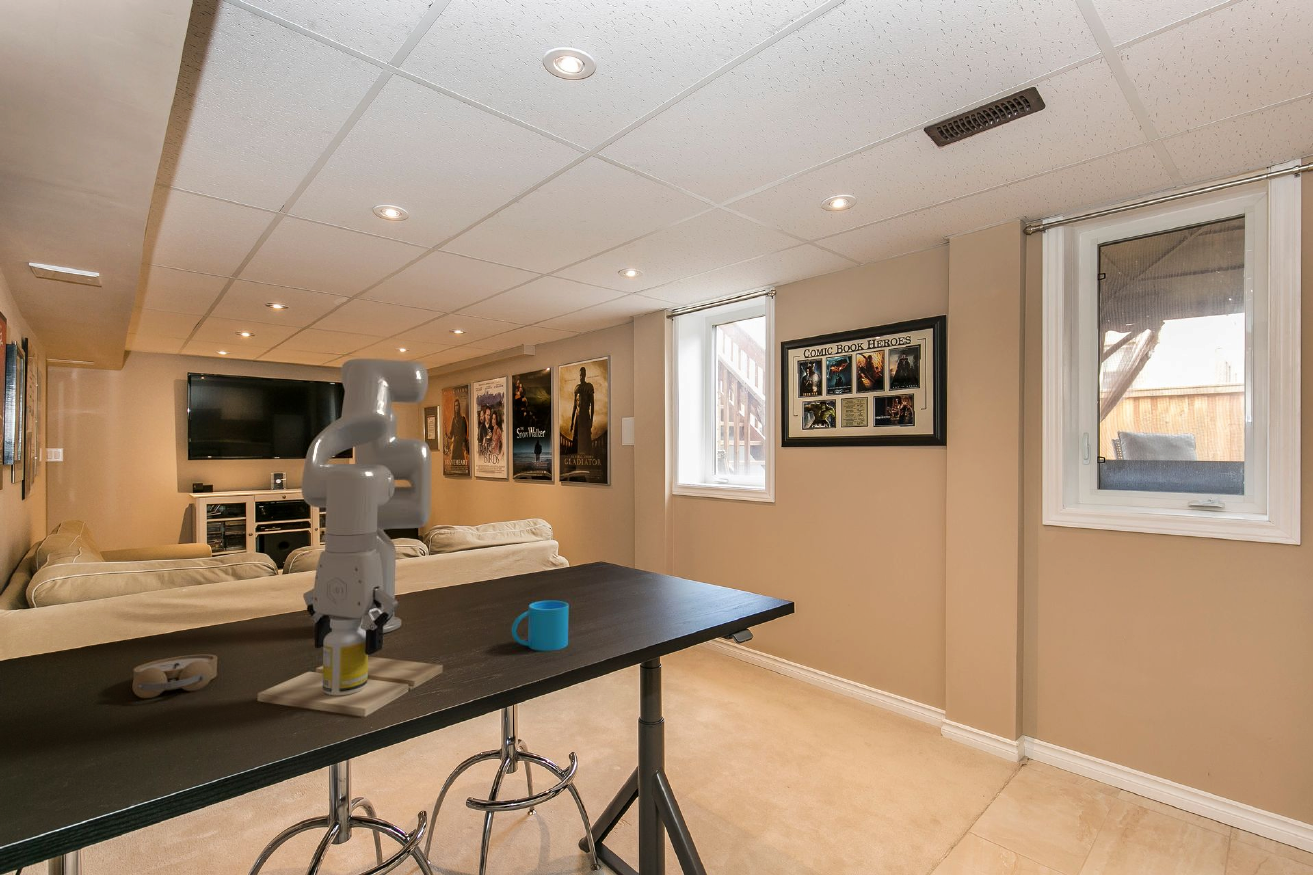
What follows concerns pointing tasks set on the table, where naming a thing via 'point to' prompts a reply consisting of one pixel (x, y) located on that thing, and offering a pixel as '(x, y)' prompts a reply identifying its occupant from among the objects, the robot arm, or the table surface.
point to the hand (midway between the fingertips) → (348, 648)
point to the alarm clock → (174, 674)
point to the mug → (545, 626)
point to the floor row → (399, 671)
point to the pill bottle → (344, 657)
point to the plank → (311, 695)
